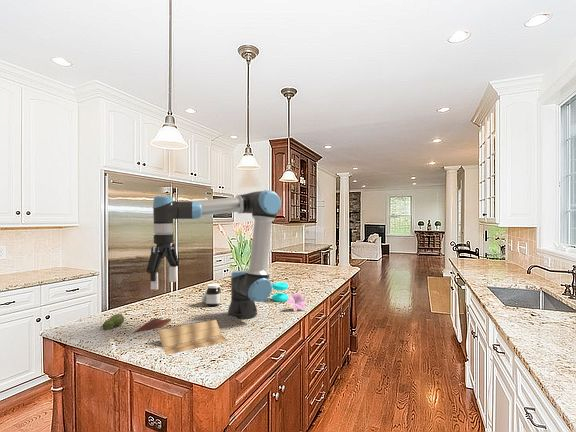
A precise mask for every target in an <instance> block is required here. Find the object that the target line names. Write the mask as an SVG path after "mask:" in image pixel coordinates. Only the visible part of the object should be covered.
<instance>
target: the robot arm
mask: <svg viewBox="0 0 576 432" xmlns="http://www.w3.org/2000/svg"><path fill="white" fill-rule="evenodd" d="M173 198H174V197H173V196H171V195H170V196H169V195H168V196H167V195H160V196H159V195H158V196H155V197H154V198H153V205H152V206H153V207H152V210H153V216H152V217H153V234H154V235H153V244H155V245H156V246H152V247H151V248H150V255H149V259H148V263H147V267H146V272H147V274H150V275H149V276H150V290H155V291H156V290H159V272H157V271H158V269H159V267H160V264H161V262H162V259H164V258H166V261H167V262H168V264H169V267H168V275H169V276H168V277H169V278H168V282H169V283H176V282H177V267H179V264H180V262H179V258H178V255H177V251H176V244H175V243H174V235H173V233H174V220H196V219H197V220H199V219H201V217H203V216H214V215H221V214H223V215H224V214H231V213H232V214H233V213H238V214H251V217H252V218H253V221H254V222H253V223H254V224H253V232H252V240H251V250H250V259H249V268H248V269H247V270H246V269H245V270H243V269H242V270H235V271H232V273H231V276H230V282H231V283H230V288H231V289H230V291H231V293H230V296H231V297H230V304H229V306H228V310H227V316H230V317H234V318H237V320H245V319H246V320H247V319H251V318H255V317H256V316H257V315H258V309H257V306H256V303H261V302H265V301H266V300H268V298H269V297H270V296H271V295H272V291H273V288H272V285H273V284H272V282H271V281H270V272H269V271H268V263H269V262H268V261H269V250H270V244H271V243H270V241H271V233H272V224H273V223H272V222H273V221H275V220H276V217H277V216H276V215H277V213H279V212H280V210H281V207H282V201H281V197H280V196H279V195H278V194H277V193H276V191H273V190H267V189H265V190H260V191H258V190H257V191H253V192H248V193H243V194H238V195H236V196H235V197H226V198H225V197H224V198H214V199H212V198H211V199H200V200H190V201H175V200H174V199H173ZM255 302H256V303H255Z"/></svg>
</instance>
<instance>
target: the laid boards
mask: <svg viewBox="0 0 576 432" xmlns="http://www.w3.org/2000/svg"><path fill="white" fill-rule="evenodd" d="M228 341H229V339H227V338H226V337H225V336H223V334H222V335H219V336H214V337H210V338H205V339H200V340H196V341H191V342H186V343H182V344H177V345H172V346H168V347H162V349H163V350H164V352H165V353H166V355H168V356H169V355H172V354H176V353H177V354H178V353H180V352H182V353H183V352H185V351H190V350H195V349H198V348H203V347H206V346H207V347H208V346H212V345H216V344H217V345H218V344H220V343H221V344H222V343H224V342H226V343H227V342H228Z"/></svg>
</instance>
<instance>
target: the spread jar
mask: <svg viewBox="0 0 576 432" xmlns="http://www.w3.org/2000/svg"><path fill="white" fill-rule="evenodd" d="M220 285H221V284H220V283H208V284H207V288H206V291H205V292H204V293H203V295H202V296H201V302H202V303H204V304H206V306H207V307H217V306H218V307H219V306H220V305H221V303H222V292H221V291H222V289H221V288H220V287H221V286H220Z"/></svg>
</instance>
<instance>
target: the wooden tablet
mask: <svg viewBox="0 0 576 432" xmlns="http://www.w3.org/2000/svg"><path fill="white" fill-rule="evenodd" d="M171 321H172V318H166V319H162V318H152V319H150V320H149V321H147V322H145V324H143V325H142V326H140V327H139V328H138V329H136V330H134V331H133V332H132V333H133V334H134V333H135V334H136V333H139V332H140V333H141V332H146V331H151V330H157V329H158V330H159V329H161V328H163V327H164V326H165V325H167V324H168V323H170V322H171Z"/></svg>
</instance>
